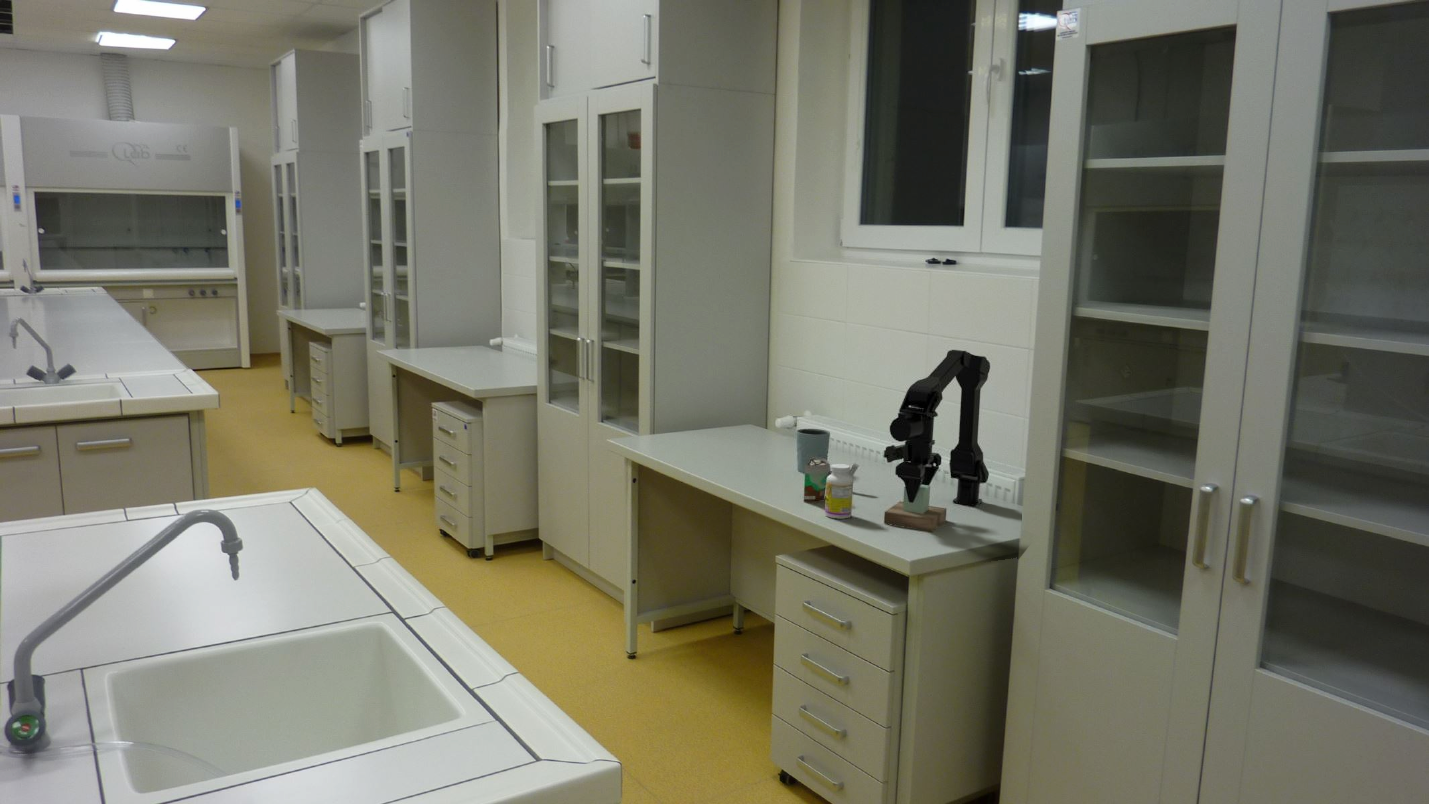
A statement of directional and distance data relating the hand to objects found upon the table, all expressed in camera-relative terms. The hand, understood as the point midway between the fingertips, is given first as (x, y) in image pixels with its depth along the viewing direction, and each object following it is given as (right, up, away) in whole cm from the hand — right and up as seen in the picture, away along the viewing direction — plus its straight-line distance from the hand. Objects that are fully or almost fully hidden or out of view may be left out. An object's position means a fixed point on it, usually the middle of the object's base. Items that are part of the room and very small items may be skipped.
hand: (916, 498), depth 249 cm
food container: (-22, -2, +20) cm, 30 cm away
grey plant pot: (-21, +3, +52) cm, 56 cm away
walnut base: (0, -6, +1) cm, 6 cm away
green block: (0, -3, 0) cm, 3 cm away
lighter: (-14, -1, +30) cm, 33 cm away
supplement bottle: (-19, -5, +4) cm, 20 cm away
